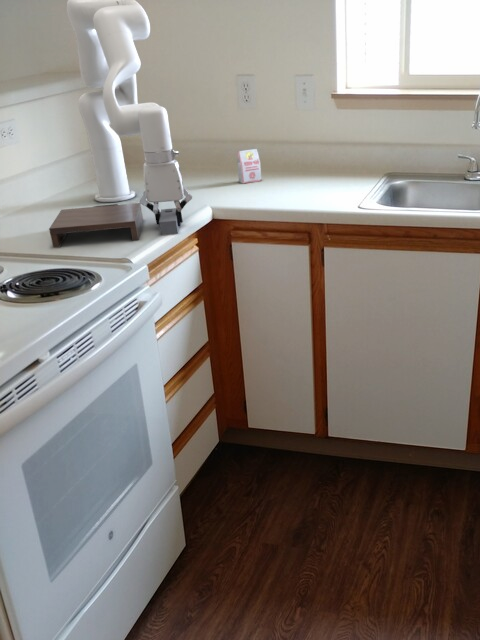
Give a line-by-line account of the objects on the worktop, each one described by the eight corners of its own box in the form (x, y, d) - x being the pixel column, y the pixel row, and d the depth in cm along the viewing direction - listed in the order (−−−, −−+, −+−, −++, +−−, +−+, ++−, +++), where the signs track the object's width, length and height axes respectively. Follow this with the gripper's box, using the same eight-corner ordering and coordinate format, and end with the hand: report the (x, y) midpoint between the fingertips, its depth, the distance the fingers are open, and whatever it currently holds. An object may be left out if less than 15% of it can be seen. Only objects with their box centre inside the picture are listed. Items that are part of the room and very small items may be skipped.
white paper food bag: (239, 181, 255) (235, 150, 250) (257, 178, 257) (254, 147, 252) (242, 183, 252) (239, 152, 247) (261, 180, 254) (258, 149, 249)
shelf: (65, 227, 215) (61, 209, 213) (143, 220, 217) (140, 202, 215) (53, 247, 198) (48, 228, 196) (138, 240, 200) (134, 221, 198)
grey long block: (163, 221, 215) (161, 208, 213) (179, 220, 216) (177, 207, 214) (161, 235, 203) (158, 221, 201) (177, 233, 204) (175, 220, 202)
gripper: (191, 152, 204) (200, 220, 213) (128, 157, 203) (140, 225, 212) (191, 157, 198) (200, 227, 207) (125, 162, 196) (138, 232, 205)
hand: (170, 225), depth 209 cm, fingers closed on grey long block, 4 cm apart
